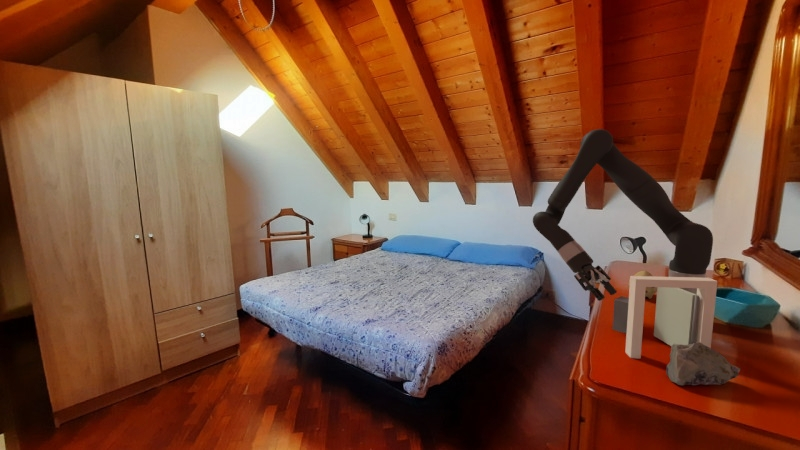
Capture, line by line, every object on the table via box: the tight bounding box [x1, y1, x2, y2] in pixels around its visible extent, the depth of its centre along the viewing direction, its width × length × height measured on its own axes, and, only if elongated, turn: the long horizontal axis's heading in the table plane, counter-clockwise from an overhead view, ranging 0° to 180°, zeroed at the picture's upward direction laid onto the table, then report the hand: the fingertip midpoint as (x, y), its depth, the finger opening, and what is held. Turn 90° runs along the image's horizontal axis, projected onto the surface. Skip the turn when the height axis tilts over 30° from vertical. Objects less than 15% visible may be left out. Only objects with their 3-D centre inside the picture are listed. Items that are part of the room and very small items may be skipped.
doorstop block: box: [612, 295, 629, 335], centre depth 105 cm, size 4×5×10 cm
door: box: [653, 287, 699, 347], centre depth 92 cm, size 13×3×17 cm, turn 0°
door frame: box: [624, 275, 718, 359], centre depth 87 cm, size 18×3×22 cm, turn 80°
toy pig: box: [628, 270, 657, 299], centre depth 133 cm, size 10×12×11 cm
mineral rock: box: [665, 342, 741, 386], centre depth 77 cm, size 13×11×10 cm
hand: (608, 296), depth 108 cm, fingers open, 8 cm apart
